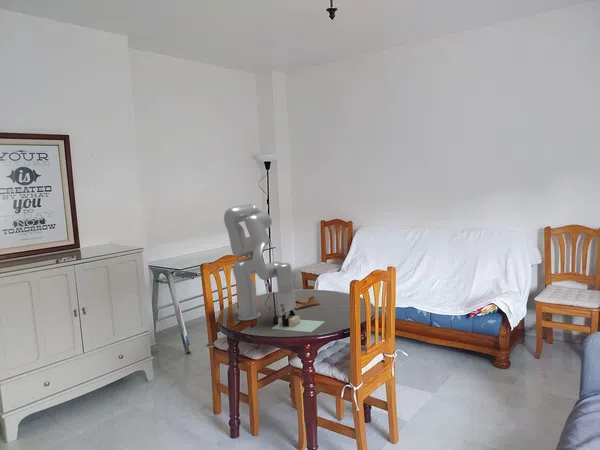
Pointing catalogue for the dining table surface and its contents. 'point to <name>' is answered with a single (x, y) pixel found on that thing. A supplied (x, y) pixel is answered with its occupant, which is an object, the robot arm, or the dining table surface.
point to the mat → (302, 326)
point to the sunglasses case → (306, 303)
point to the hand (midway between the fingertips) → (289, 323)
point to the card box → (290, 321)
